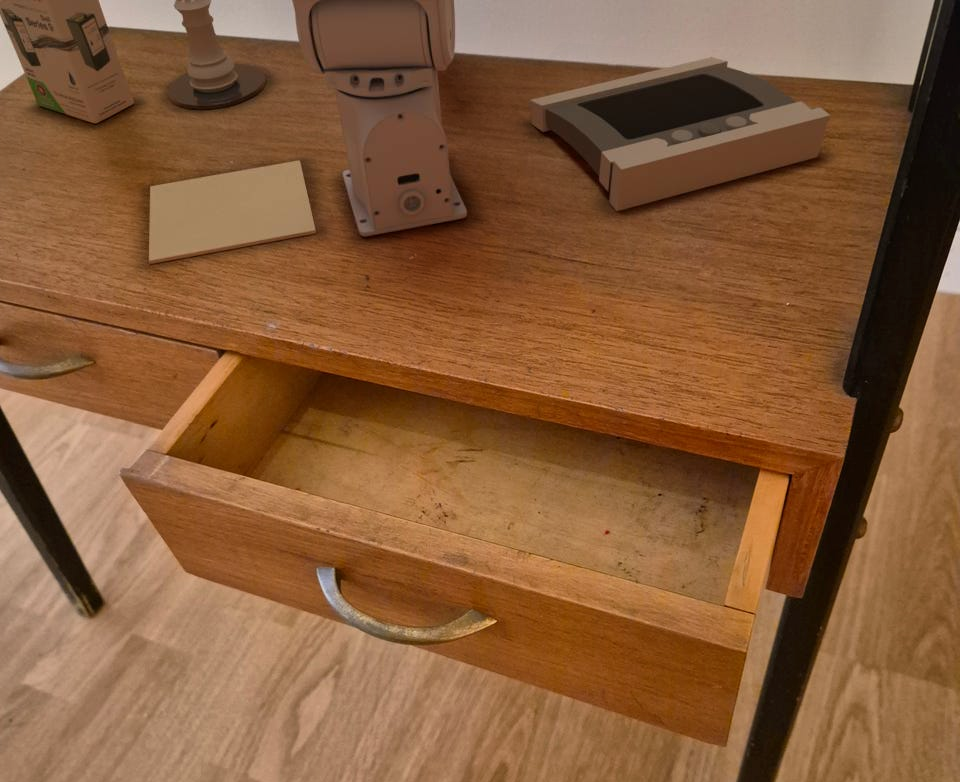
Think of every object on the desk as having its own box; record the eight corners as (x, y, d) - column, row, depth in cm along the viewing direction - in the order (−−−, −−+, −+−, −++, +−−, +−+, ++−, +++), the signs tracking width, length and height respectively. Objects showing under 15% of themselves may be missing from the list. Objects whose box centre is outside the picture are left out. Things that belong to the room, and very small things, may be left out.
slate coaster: (269, 100, 80) (268, 95, 79) (169, 116, 79) (167, 112, 78) (261, 61, 86) (260, 57, 85) (168, 76, 85) (167, 72, 84)
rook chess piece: (228, 95, 80) (202, 1, 74) (183, 93, 81) (154, 0, 75) (246, 74, 83) (223, -18, 77) (202, 73, 84) (176, -19, 78)
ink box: (35, 106, 82) (-26, -34, 73) (77, 85, 84) (23, -52, 76) (95, 125, 78) (39, -19, 70) (138, 103, 81) (88, -39, 72)
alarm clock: (621, 169, 61) (528, 64, 70) (615, 225, 65) (527, 119, 74) (830, 115, 64) (714, 22, 74) (813, 171, 68) (704, 76, 78)
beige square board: (316, 233, 64) (315, 229, 64) (150, 264, 62) (148, 260, 62) (300, 163, 71) (299, 160, 71) (151, 189, 70) (150, 186, 70)
